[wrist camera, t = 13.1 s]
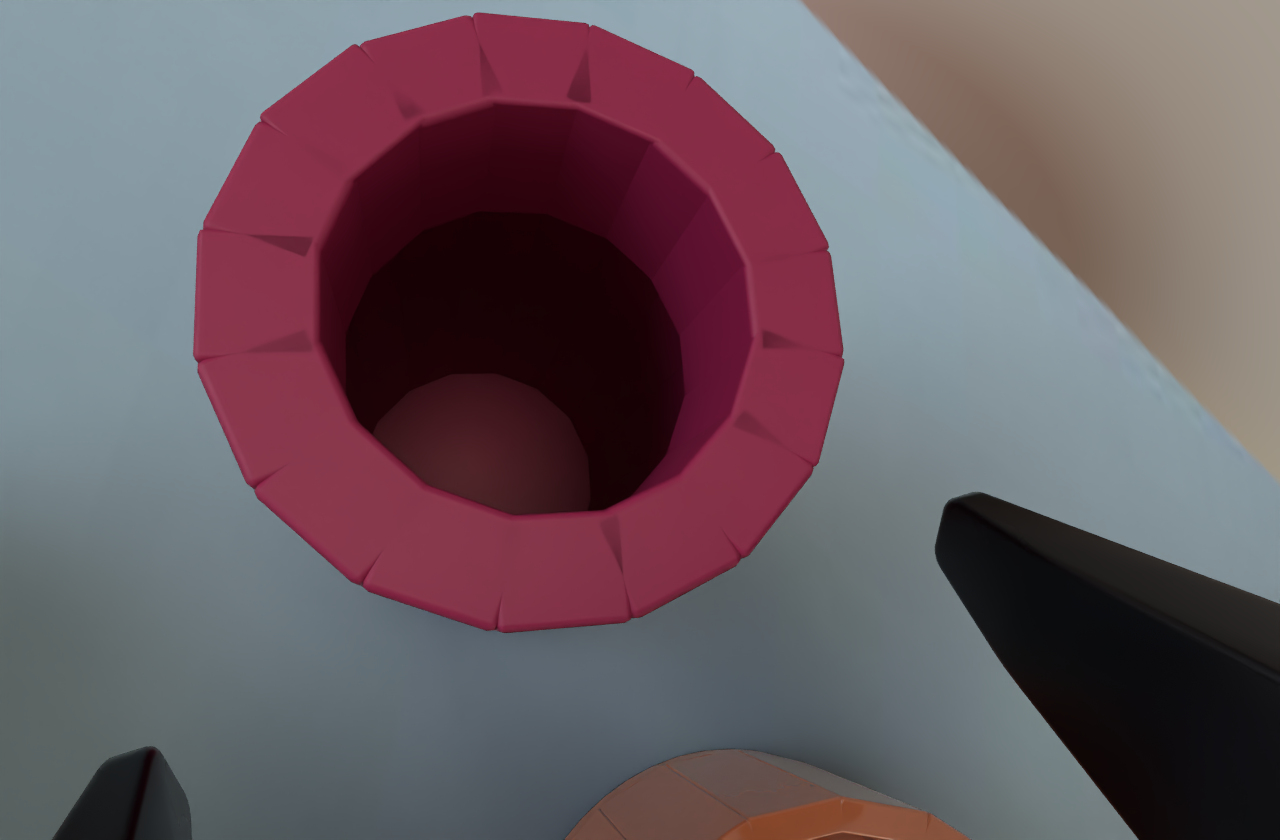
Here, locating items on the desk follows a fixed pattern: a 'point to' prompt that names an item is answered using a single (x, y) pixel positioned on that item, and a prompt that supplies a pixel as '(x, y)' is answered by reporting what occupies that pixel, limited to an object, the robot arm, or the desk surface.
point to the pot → (752, 804)
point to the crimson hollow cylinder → (517, 323)
